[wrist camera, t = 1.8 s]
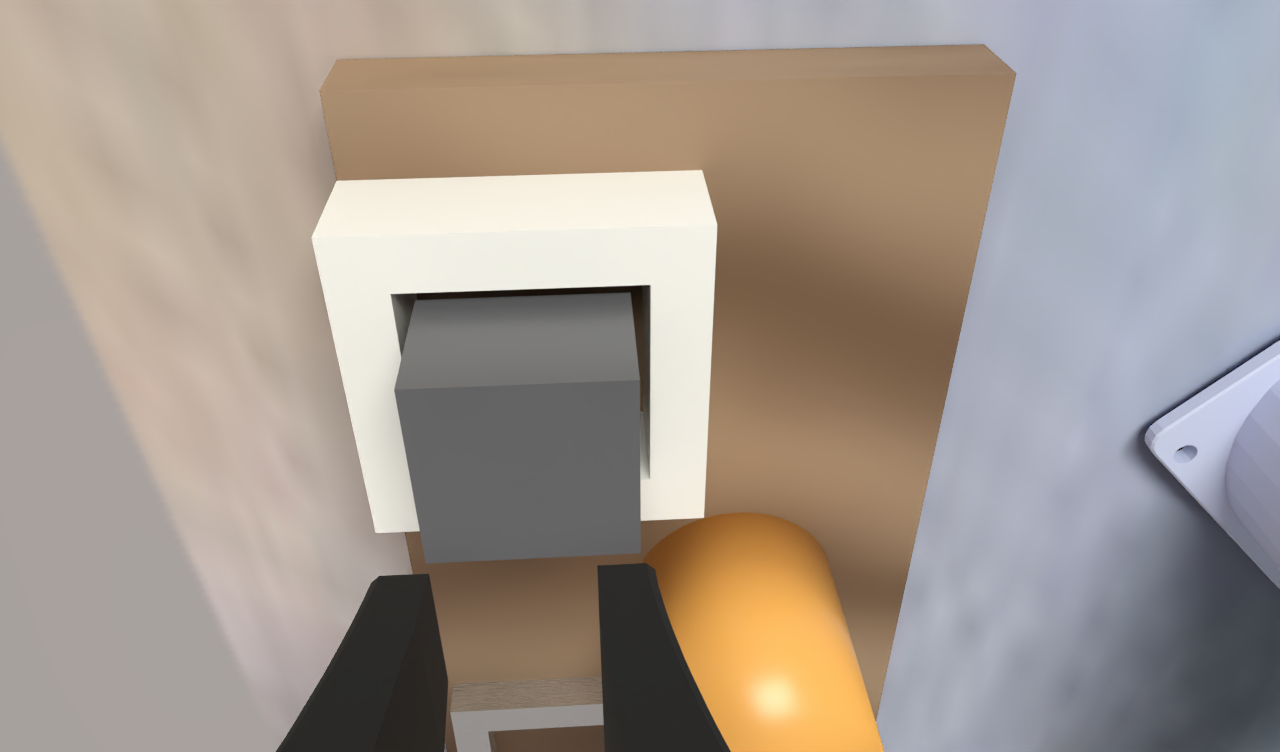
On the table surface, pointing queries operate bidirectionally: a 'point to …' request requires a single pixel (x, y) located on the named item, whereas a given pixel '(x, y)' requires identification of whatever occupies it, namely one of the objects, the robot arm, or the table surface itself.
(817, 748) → the cap
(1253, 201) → the table surface
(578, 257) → the frame
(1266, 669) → the table surface
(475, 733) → the grey square frame
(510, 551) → the button
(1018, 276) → the table surface
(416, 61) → the tan flat plate
